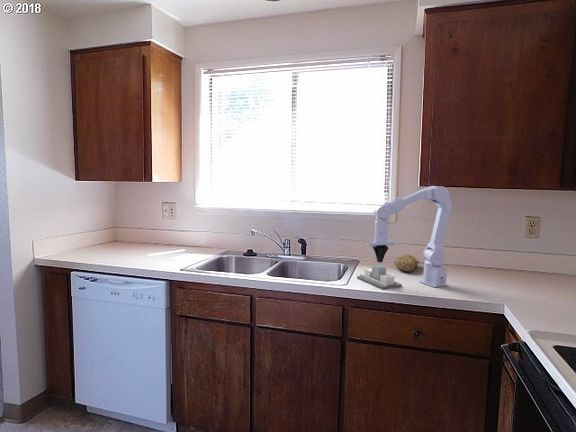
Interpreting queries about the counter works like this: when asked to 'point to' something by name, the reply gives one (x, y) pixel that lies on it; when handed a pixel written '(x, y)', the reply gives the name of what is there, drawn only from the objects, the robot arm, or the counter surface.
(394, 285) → the rail board
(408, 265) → the sponge
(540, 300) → the counter surface
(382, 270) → the module
